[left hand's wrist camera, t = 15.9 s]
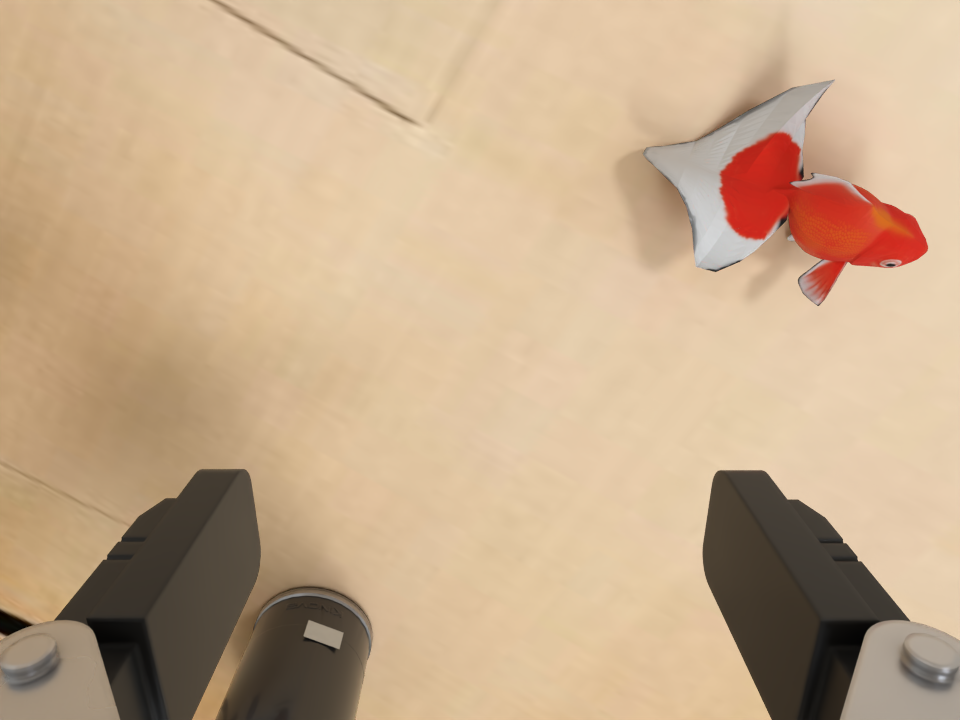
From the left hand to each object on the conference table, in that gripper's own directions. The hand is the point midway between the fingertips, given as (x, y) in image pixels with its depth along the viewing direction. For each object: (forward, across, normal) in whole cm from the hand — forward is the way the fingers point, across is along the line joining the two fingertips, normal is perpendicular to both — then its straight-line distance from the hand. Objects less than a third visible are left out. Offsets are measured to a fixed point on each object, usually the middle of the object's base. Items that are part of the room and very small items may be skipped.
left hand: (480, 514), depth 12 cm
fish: (+32, -17, -1) cm, 37 cm away
